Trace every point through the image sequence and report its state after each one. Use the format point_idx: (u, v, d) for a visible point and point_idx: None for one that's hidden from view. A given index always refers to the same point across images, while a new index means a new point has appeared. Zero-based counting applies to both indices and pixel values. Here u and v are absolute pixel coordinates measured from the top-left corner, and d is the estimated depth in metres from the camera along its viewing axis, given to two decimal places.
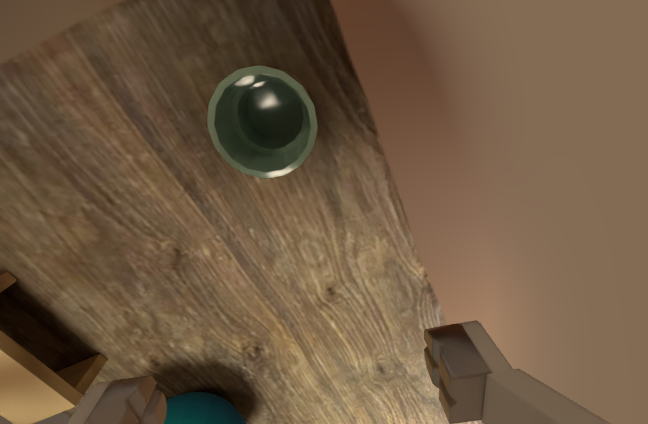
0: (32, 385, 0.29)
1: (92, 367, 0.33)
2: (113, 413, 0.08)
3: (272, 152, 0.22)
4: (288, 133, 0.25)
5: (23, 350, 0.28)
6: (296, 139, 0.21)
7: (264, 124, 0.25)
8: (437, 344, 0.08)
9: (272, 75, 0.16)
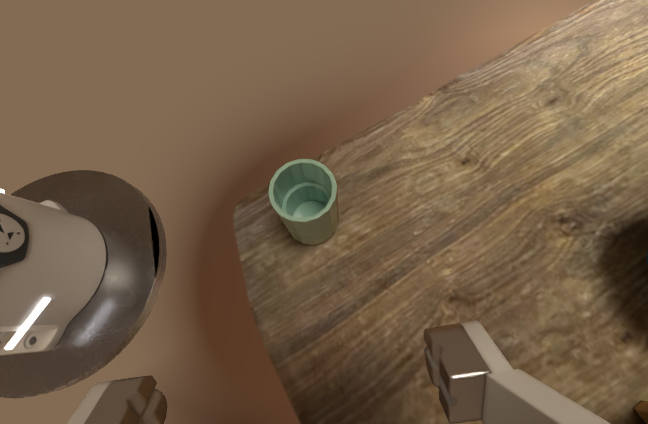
0: None
1: None
2: (113, 413, 0.08)
3: None
4: None
5: None
6: (321, 188, 0.31)
7: None
8: (437, 344, 0.08)
9: (273, 186, 0.27)
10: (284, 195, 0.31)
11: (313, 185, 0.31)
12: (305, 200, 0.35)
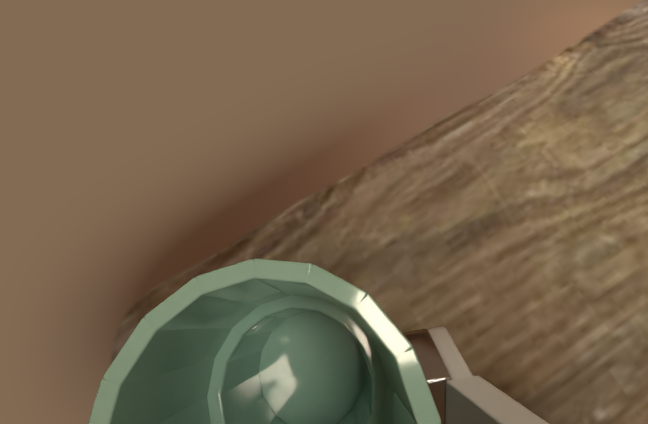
0: None
1: None
2: None
3: (379, 378, 0.09)
4: (352, 337, 0.13)
5: None
6: (340, 319, 0.09)
7: (341, 390, 0.12)
8: None
9: (108, 412, 0.05)
10: (218, 347, 0.09)
11: (314, 307, 0.10)
12: (293, 315, 0.13)
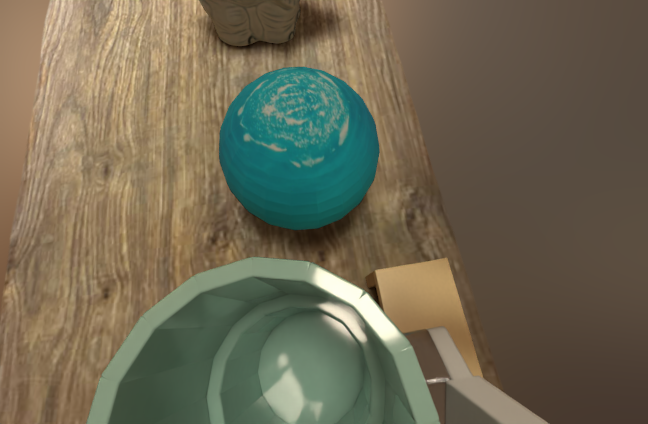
0: (398, 316, 0.27)
1: (370, 284, 0.31)
2: None
3: (378, 376, 0.09)
4: (351, 336, 0.13)
5: None
6: (339, 318, 0.09)
7: (341, 389, 0.13)
8: None
9: (106, 410, 0.05)
10: (218, 345, 0.09)
11: (313, 306, 0.10)
12: (292, 314, 0.13)
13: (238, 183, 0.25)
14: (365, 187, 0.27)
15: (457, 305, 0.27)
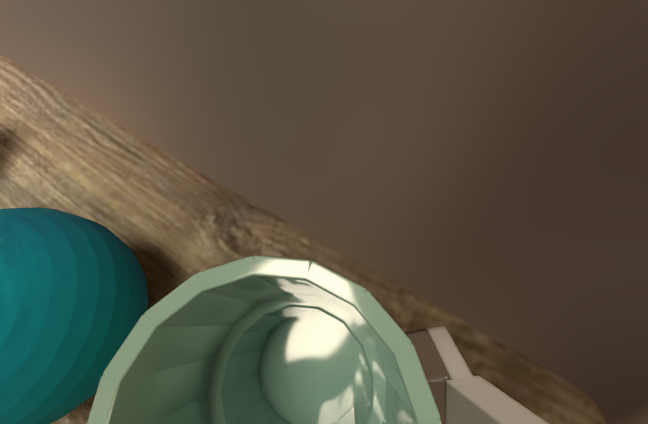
0: None
1: None
2: None
3: (379, 376, 0.09)
4: (351, 336, 0.13)
5: None
6: (340, 317, 0.10)
7: (341, 388, 0.13)
8: None
9: (108, 408, 0.05)
10: (218, 344, 0.09)
11: (314, 305, 0.10)
12: (293, 314, 0.13)
13: None
14: (109, 286, 0.20)
15: None
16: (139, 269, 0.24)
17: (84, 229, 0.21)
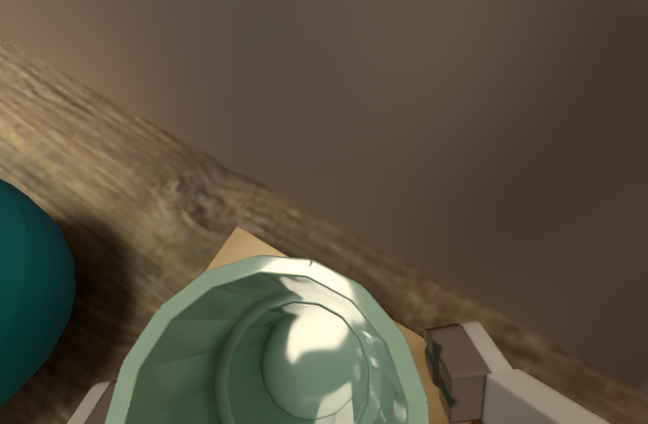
0: None
1: None
2: None
3: (375, 368, 0.09)
4: (350, 332, 0.14)
5: None
6: (338, 313, 0.10)
7: (340, 382, 0.13)
8: (437, 344, 0.08)
9: (128, 393, 0.06)
10: (224, 339, 0.10)
11: (314, 302, 0.10)
12: (294, 311, 0.14)
13: None
14: None
15: None
16: (55, 243, 0.17)
17: None
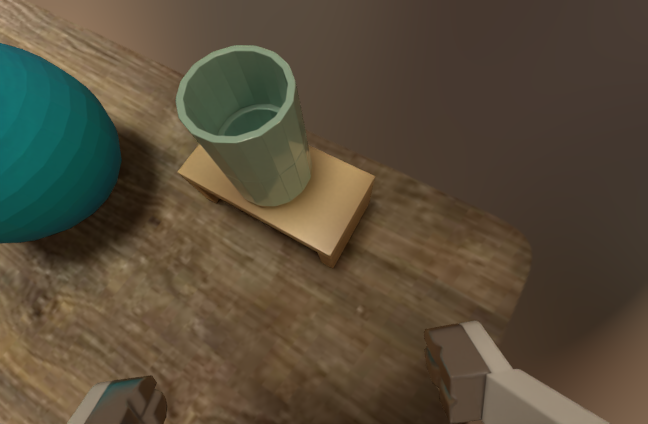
0: (228, 183, 0.24)
1: (206, 195, 0.27)
2: (113, 413, 0.08)
3: None
4: None
5: (258, 219, 0.23)
6: None
7: None
8: (437, 344, 0.08)
9: (184, 88, 0.15)
10: (220, 122, 0.19)
11: (267, 108, 0.20)
12: None
13: None
14: (80, 110, 0.22)
15: None
16: (111, 121, 0.26)
17: None
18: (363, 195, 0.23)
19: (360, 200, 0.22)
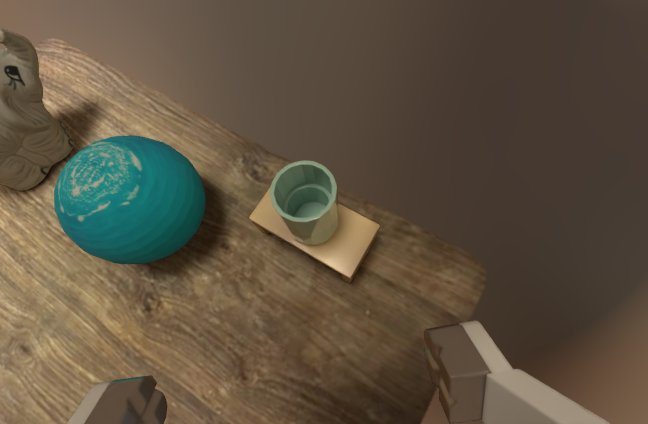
0: (282, 227, 0.36)
1: (263, 230, 0.40)
2: (113, 413, 0.08)
3: None
4: None
5: None
6: (321, 189, 0.32)
7: None
8: (437, 344, 0.08)
9: (274, 187, 0.28)
10: (286, 196, 0.32)
11: (313, 186, 0.32)
12: (306, 201, 0.35)
13: (108, 249, 0.31)
14: (191, 180, 0.35)
15: None
16: (201, 180, 0.38)
17: (174, 150, 0.36)
18: (372, 238, 0.35)
19: (370, 241, 0.34)
